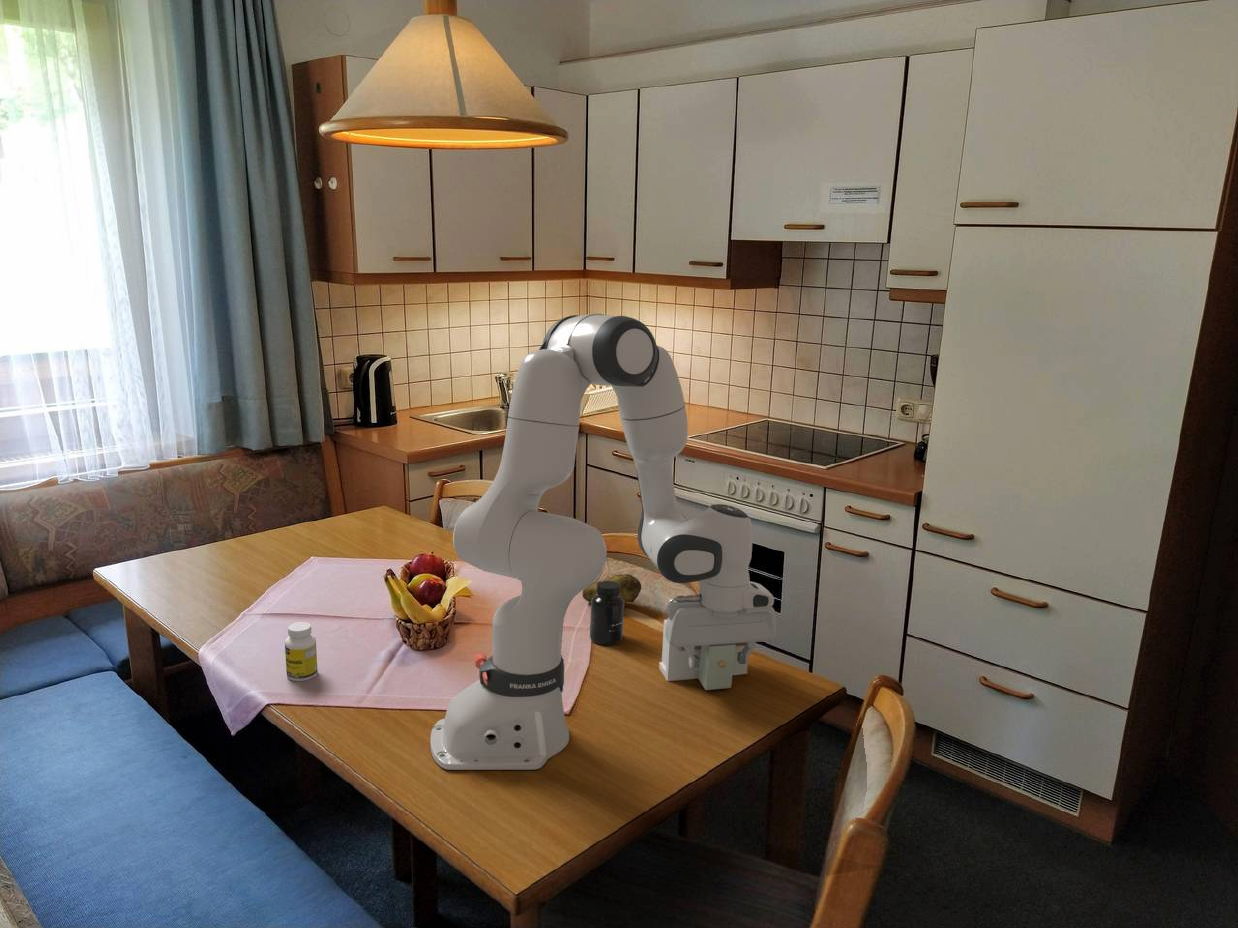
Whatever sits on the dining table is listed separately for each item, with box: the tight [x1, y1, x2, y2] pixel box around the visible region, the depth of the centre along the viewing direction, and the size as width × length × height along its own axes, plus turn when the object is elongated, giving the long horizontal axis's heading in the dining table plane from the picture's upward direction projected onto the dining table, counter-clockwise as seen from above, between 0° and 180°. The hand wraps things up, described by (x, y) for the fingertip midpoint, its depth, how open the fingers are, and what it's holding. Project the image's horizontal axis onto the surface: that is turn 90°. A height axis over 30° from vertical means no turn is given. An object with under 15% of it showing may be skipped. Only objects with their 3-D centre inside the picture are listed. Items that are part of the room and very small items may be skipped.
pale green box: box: [697, 643, 736, 691], centre depth 165 cm, size 5×7×9 cm
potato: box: [582, 573, 642, 604], centre depth 200 cm, size 8×13×8 cm, turn 54°
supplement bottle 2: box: [589, 580, 625, 646], centre depth 183 cm, size 7×7×12 cm
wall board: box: [658, 597, 749, 682], centre depth 170 cm, size 16×8×16 cm, turn 105°
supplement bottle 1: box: [284, 621, 318, 682], centre depth 164 cm, size 5×5×10 cm
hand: (718, 664), depth 164 cm, fingers open, 8 cm apart
